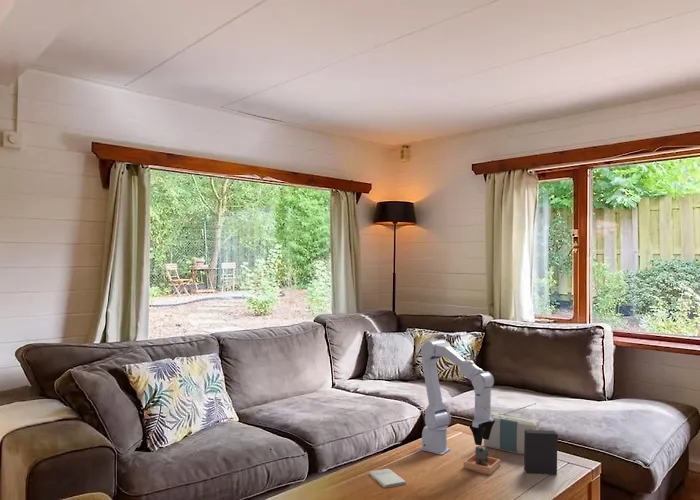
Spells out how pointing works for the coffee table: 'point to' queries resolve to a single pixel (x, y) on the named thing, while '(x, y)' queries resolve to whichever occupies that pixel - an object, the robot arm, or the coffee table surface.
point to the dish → (470, 465)
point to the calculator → (540, 452)
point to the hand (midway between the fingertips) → (482, 441)
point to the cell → (482, 456)
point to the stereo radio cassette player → (510, 432)
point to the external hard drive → (387, 478)
